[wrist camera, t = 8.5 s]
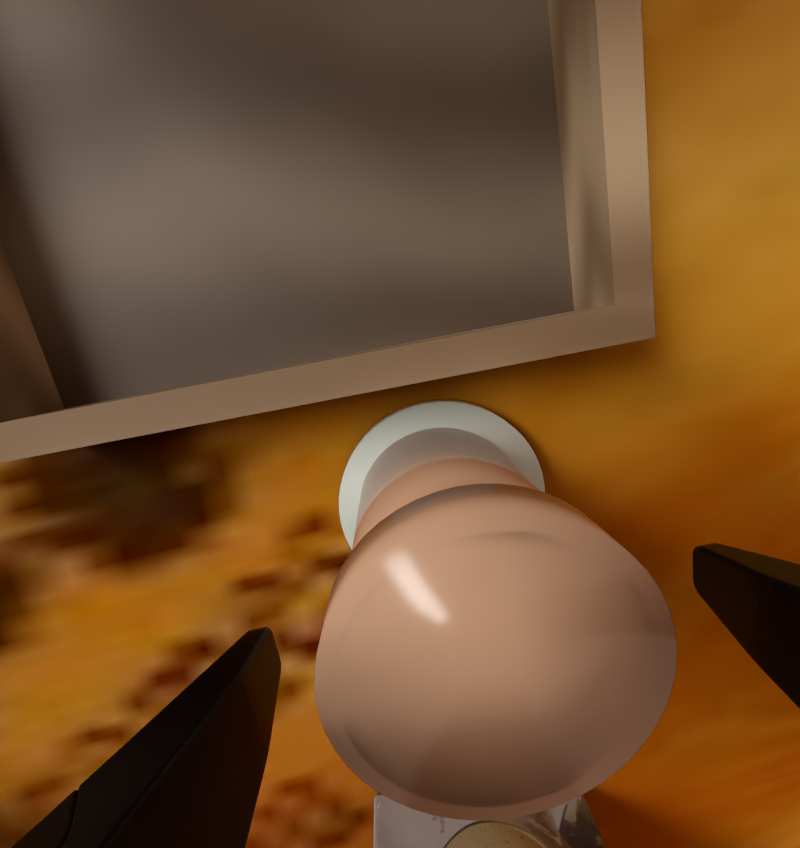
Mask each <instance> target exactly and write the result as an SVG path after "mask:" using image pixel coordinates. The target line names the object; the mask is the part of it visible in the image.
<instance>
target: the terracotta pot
mask: <svg viewBox="0 0 800 848" xmlns="http://www.w3.org/2000/svg"><path fill="white" fill-rule="evenodd" d="M676 662H677V643H676V635H675V627H674V624H673V620H672V616H671V613H670V609H669V607H668V605H667V603H666V600H665V598H664V596H663V594H662V592H661V590H660V588H659V587H658V585H657V584H656V582H655V581H654V579H653V578H652V576H651V575H650V574H649V572H648V571H647V570H646V569H645V568H644V567H643V566H642V565H641V564H640V562H639V561H638V560H637V559H636V558H635V557H634V556H633V555H632V554H631V553H629V552H628V551H627V550H626V549H625V548H624V547H623V546H621V545H620V544H619V543H618V542H617V541H616V540H615V539H613V538H612V537H611V536H610V535H609V534H608V533H607V532H605V531H604V530H603V529H602V528H601V527H600V526H599V525H598V524H596V523H595V522H594V521H593V520H592V519H590V518H589V517H588V516H587V515H585V514H584V513H583V512H581V511H580V510H579V509H577V508H576V507H574V506H572V505H570V504H569V503H567V502H565V501H564V500H562V499H560V498H557V497H555V496H552V495H550V494H547V493H545V492H542V491H539V490H538V489H537V488H536V487H535V486H534V485H533V484H532V483H531V482H530V481H529V480H528V479H527V478H526V477H525V476H524V475H523V474H522V473H521V472H520V471H519V470H518V469H517V468H516V467H515V466H514V465H513V464H512V463H511V462H510V461H509V460H508V459H507V458H506V457H505V456H504V455H503V454H502V453H501V452H500V451H499V450H498V449H497V448H496V447H495V446H493V445H492V444H491V443H490V442H488V441H487V440H485V439H483V438H482V437H480V436H478V435H475V434H473V433H471V432H468V431H464V430H460V429H454V428H431V429H425V430H421V431H417V432H414V433H411V434H409V435H406V436H404V437H403V438H401V439H399V440H397V441H396V442H394V443H393V444H392V445H390V446H389V447H387V448H386V449H385V450H384V451H383V452H382V453H381V454H380V455H379V457H378V458H377V459H376V460H375V462H374V463H373V464H372V466H371V468H370V469H369V471H368V473H367V475H366V478H365V480H364V483H363V486H362V490H361V496H360V502H359V509H358V515H357V522H356V528H355V534H354V541H353V547H352V551H351V552H350V554H349V556H348V557H347V559H346V560H345V562H344V564H343V565H342V567H341V569H340V570H339V573H338V575H337V577H336V580H335V582H334V584H333V587H332V590H331V594H330V597H329V601H328V605H327V609H326V614H325V618H324V623H323V628H322V632H321V637H320V642H319V646H318V651H317V656H316V665H315V674H314V681H315V698H316V702H317V707H318V712H319V716H320V719H321V722H322V724H323V727H324V730H325V732H326V735H327V736H328V738H329V740H330V742H331V744H332V745H333V747H334V749H335V751H336V752H337V753H338V755H339V756H340V757H341V759H342V760H343V761H344V762H345V764H346V765H347V766H348V767H349V768H350V769H351V770H352V771H353V772H354V773H355V774H356V775H357V776H358V777H359V778H360V779H361V780H362V781H364V782H365V783H366V784H368V785H369V786H370V787H372V788H373V789H374V790H376V791H377V792H379V793H380V794H382V795H384V796H386V797H387V798H389V799H391V800H393V801H395V802H397V803H399V804H401V805H404V806H406V807H409V808H411V809H414V810H417V811H420V812H424V813H427V814H431V815H434V816H440V817H446V818H451V819H460V820H476V821H478V820H500V819H507V818H515V817H521V816H525V815H529V814H533V813H538V812H541V811H544V810H547V809H550V808H553V807H556V806H559V805H561V804H564V803H566V802H568V801H570V800H572V799H574V798H577V797H579V796H581V795H583V794H584V793H586V792H588V791H589V790H591V789H593V788H594V787H596V786H598V785H599V784H601V783H602V782H603V781H605V780H606V779H608V778H609V777H610V776H612V775H613V774H614V773H616V772H617V771H618V770H619V769H620V768H621V767H622V766H623V765H624V764H625V763H627V762H628V761H629V760H630V759H631V758H632V757H633V756H634V755H635V753H636V752H637V751H638V750H639V749H640V748H641V746H642V745H643V744H644V743H645V742H646V740H647V739H648V737H649V736H650V734H651V733H652V731H653V730H654V728H655V727H656V725H657V724H658V722H659V720H660V718H661V716H662V713H663V711H664V709H665V707H666V705H667V702H668V699H669V696H670V693H671V690H672V687H673V682H674V677H675V672H676Z"/></svg>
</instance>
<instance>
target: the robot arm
mask: <svg viewBox="0 0 800 848" xmlns="http://www.w3.org/2000/svg"><path fill="white" fill-rule="evenodd" d="M693 581H694V585H695V588H696V590H697V592H698V593H699V595H700V596H701V597H702V598H703V600H704V601H705V602H706V603H707V604H708V606H709V607H710V608H711V609H712V610H713V612H714V613H715V614H716V615H717V617H718V618H719V619H720V620H721V621H722V623H723V624H724V625H725V626H726V627H727V629H728V630H729V631H730V632H731V634H732V635H733V636H734V637H735V638H736V640H737V641H738V642H739V643H740V644H741V646H742V647H743V648H744V649H745V651H746V652H747V653H748V654H749V655H750V656H751V657H752V659H753V660H754V661H755V662H756V663H757V664H758V665H759V666H760V668H761V669H762V670H763V671H764V672H765V673H766V674H767V675H768V676H769V677H770V678H771V679H772V680H773V681H774V682H775V683H776V684H777V685H778V686H779V688H780V689H781V690H782V691H783V692H784V693H785V694H786V695H787V696H788V697H789V698H790V699H791V700H792V701H793V702H794V703H795V704H796V705H797V706H798V707H799V708H800V565H799V564H795V563H791V562H788V561H784V560H780V559H776V558H772V557H768V556H764V555H761V554H757V553H753V552H749V551H745V550H741V549H738V548H734V547H730V546H726V545H722V544H718V543H712V544H706V545H701V546H697V547H696V548H694V550H693ZM280 673H281V661H280V657H279V653H278V650H277V647H276V643H275V640H274V637H273V633H272V631H271V629H270V628H268V627H263V628H258V629H253V630H250V631H248V632H247V633H246V634H245V635H243V636H242V637H241V638H240V639H239V640H238V641H237V642H236V643H235V644H234V645H233V646H231V647H230V648H229V649H228V650H227V651H226V652H225V653H224V654H223V655H222V656H221V657H220V658H218V659H217V660H216V661H215V662H214V663H213V664H212V665H211V666H210V667H209V668H208V669H206V670H205V671H204V672H203V673H202V674H201V675H200V676H199V677H198V678H197V679H196V680H194V681H193V682H192V683H191V684H190V685H189V686H188V687H187V688H186V689H185V690H184V691H182V692H181V693H180V694H179V695H178V696H177V697H176V698H175V699H174V700H173V701H172V702H170V703H169V704H168V705H167V706H166V707H165V708H164V709H163V710H162V711H161V712H160V713H158V714H157V715H156V716H155V717H154V718H153V719H152V720H151V721H150V722H149V723H148V724H146V725H145V726H144V727H143V728H142V729H141V730H140V731H139V732H138V733H137V734H136V735H134V736H133V737H132V738H131V739H130V740H129V741H128V742H127V743H126V744H125V745H124V746H123V747H121V748H120V749H119V750H118V751H117V752H116V753H115V754H114V755H113V756H112V757H111V758H109V759H108V760H107V761H106V762H105V763H104V764H103V765H102V766H101V767H100V768H99V769H97V770H96V771H95V772H94V773H93V774H92V775H91V776H90V777H89V778H88V779H87V780H85V781H84V782H83V783H82V784H81V785H80V787H79V790H75V791H73V792H72V793H71V794H70V795H69V796H68V797H67V798H66V799H65V800H64V801H62V802H61V803H60V804H59V805H58V806H57V807H56V808H55V809H54V810H53V811H52V812H51V813H49V814H48V815H47V816H46V817H45V818H44V819H43V820H42V821H41V822H39V823H38V824H37V825H36V826H35V827H34V828H33V829H32V830H30V831H29V832H28V833H27V834H26V835H25V836H24V837H23V838H22V839H20V840H19V841H18V842H17V843H16V844H15V845H14V846H13V847H12V848H245V846H246V842H247V838H248V834H249V830H250V826H251V822H252V818H253V814H254V810H255V806H256V802H257V798H258V794H259V790H260V786H261V782H262V778H263V773H264V769H265V765H266V761H267V756H268V751H269V745H270V739H271V733H272V726H273V720H274V713H275V706H276V700H277V693H278V686H279V680H280Z"/></svg>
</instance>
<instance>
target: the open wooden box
mask: <svg viewBox="0 0 800 848" xmlns="http://www.w3.org/2000/svg"><path fill="white" fill-rule="evenodd" d="M651 338H656V336H655V313H654V289H653V266H652V243H651V220H650V197H649V173H648V150H647V127H646V104H645V81H644V57H643V34H642V11H641V0H0V463H1V462H6V461H12V460H17V459H22V458H27V457H33V456H38V455H43V454H48V453H54V452H59V451H64V450H69V449H74V448H80V447H85V446H90V445H95V444H101V443H106V442H111V441H116V440H122V439H127V438H132V437H137V436H143V435H148V434H153V433H158V432H163V431H169V430H174V429H179V428H184V427H190V426H195V425H200V424H205V423H211V422H216V421H221V420H226V419H232V418H237V417H242V416H247V415H253V414H258V413H263V412H268V411H273V410H279V409H284V408H289V407H294V406H300V405H305V404H310V403H315V402H321V401H326V400H331V399H336V398H342V397H347V396H352V395H357V394H362V393H368V392H373V391H378V390H383V389H389V388H394V387H399V386H404V385H410V384H415V383H420V382H425V381H431V380H436V379H441V378H446V377H452V376H457V375H462V374H467V373H472V372H478V371H483V370H488V369H493V368H499V367H504V366H509V365H514V364H520V363H525V362H530V361H535V360H541V359H546V358H551V357H556V356H561V355H567V354H572V353H577V352H582V351H588V350H593V349H598V348H603V347H609V346H614V345H619V344H624V343H630V342H635V341H640V340H645V339H651Z"/></svg>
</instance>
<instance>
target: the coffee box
mask: <svg viewBox="0 0 800 848" xmlns="http://www.w3.org/2000/svg"><path fill="white" fill-rule="evenodd" d="M374 848H606V847H605V844H604V842H603V840H602V838H601V835H600V833H599V831H598V829H597V826H596V824H595V822H594V819H593V817H592V815H591V813H590V810H589V808H588V805H587V803H586V800H585V798H584V795H581V796H579V797H577V798H574V799H572V800H570V801H568V802H566V803H564V804H561V805H559V806H556V807H553V808H550V809H547V810H544V811H541V812H538V813H533V814H529V815H525V816H521V817H515V818H507V819H500V820H478V821H476V820H460V819H451V818H446V817H440V816H434V815H431V814H427V813H424V812H420V811H417V810H414V809H411V808H409V807H406V806H404V805H401V804H399V803H397V802H395V801H393V800H391V799H389V798H387V797H386V796H384V795H382V794H380V795H376V796H375V798H374Z"/></svg>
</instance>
